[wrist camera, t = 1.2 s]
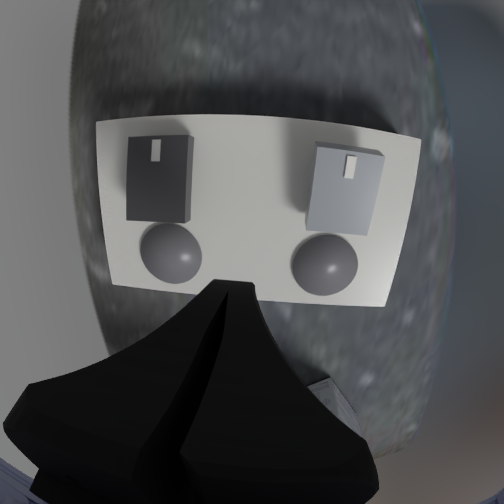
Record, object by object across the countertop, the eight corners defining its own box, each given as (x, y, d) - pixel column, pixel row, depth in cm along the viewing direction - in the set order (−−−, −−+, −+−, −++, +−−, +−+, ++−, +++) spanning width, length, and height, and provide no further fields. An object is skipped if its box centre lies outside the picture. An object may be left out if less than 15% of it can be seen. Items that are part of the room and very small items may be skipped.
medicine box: (286, 391, 25) (286, 475, 17) (332, 374, 24) (344, 460, 16) (319, 427, 27) (324, 496, 20) (358, 413, 26) (371, 484, 18)
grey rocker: (362, 225, 14) (367, 236, 14) (304, 219, 15) (306, 231, 14) (378, 149, 12) (385, 157, 11) (314, 140, 12) (317, 147, 11)
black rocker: (190, 220, 14) (184, 224, 13) (134, 217, 14) (125, 220, 13) (194, 137, 13) (188, 134, 12) (137, 138, 13) (127, 136, 12)
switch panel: (371, 281, 20) (385, 308, 17) (130, 263, 20) (111, 285, 17) (399, 135, 15) (422, 139, 12) (121, 119, 16) (94, 121, 13)
